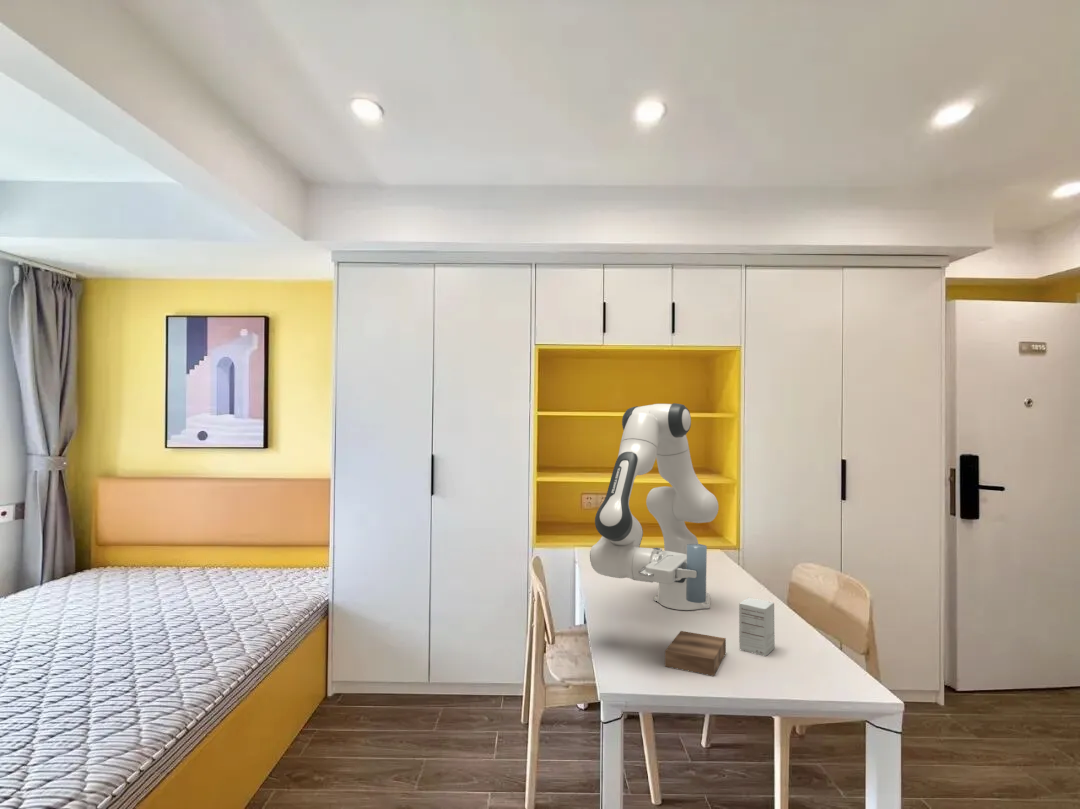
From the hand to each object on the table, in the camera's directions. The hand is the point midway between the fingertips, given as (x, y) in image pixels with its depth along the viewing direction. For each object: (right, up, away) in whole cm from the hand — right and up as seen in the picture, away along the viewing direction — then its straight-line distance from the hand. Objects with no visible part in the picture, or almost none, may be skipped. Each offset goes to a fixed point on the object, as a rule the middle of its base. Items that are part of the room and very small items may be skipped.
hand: (699, 571), depth 157 cm
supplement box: (+17, -23, +7) cm, 30 cm away
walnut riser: (-1, -23, 0) cm, 23 cm away
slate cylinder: (-1, -8, 0) cm, 8 cm away
